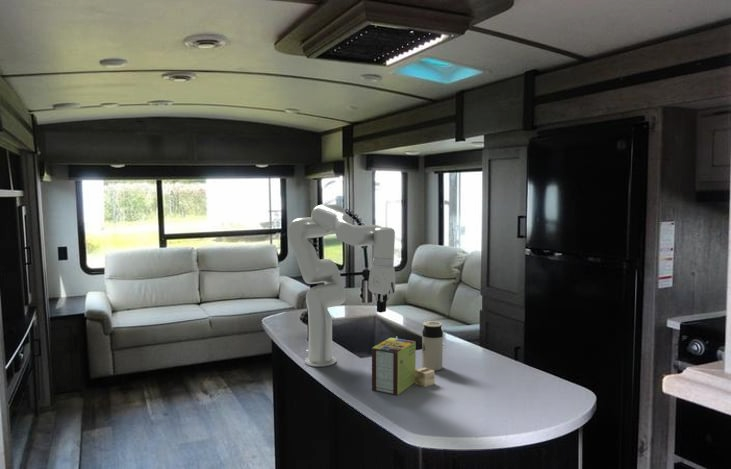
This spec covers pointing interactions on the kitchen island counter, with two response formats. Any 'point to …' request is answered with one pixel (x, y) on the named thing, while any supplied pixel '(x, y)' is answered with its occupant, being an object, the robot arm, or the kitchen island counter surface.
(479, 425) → the kitchen island counter surface
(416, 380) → the slotted oak block
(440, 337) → the travel mug
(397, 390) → the protein box
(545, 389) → the kitchen island counter surface
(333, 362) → the robot arm
